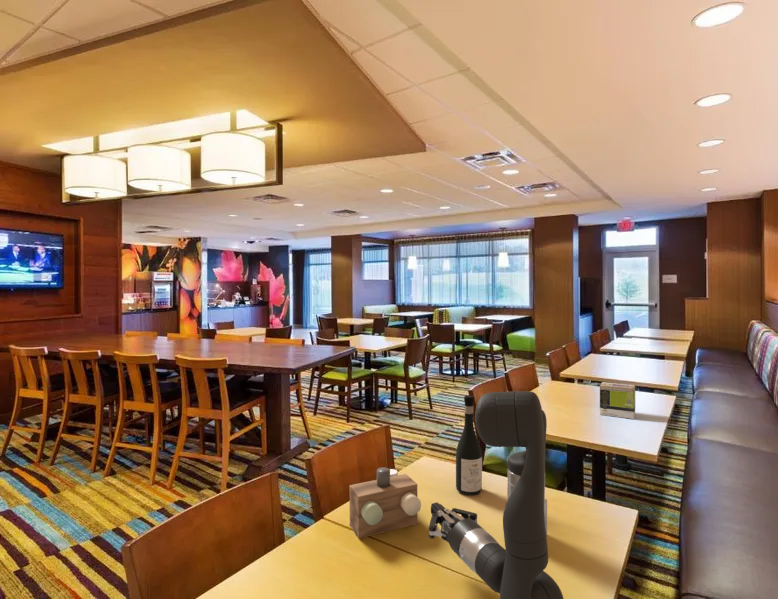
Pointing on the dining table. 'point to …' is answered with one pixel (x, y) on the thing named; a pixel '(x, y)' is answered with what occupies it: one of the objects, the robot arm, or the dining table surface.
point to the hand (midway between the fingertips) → (434, 506)
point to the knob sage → (371, 512)
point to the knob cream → (410, 503)
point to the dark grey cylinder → (383, 477)
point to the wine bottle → (468, 455)
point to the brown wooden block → (381, 505)
